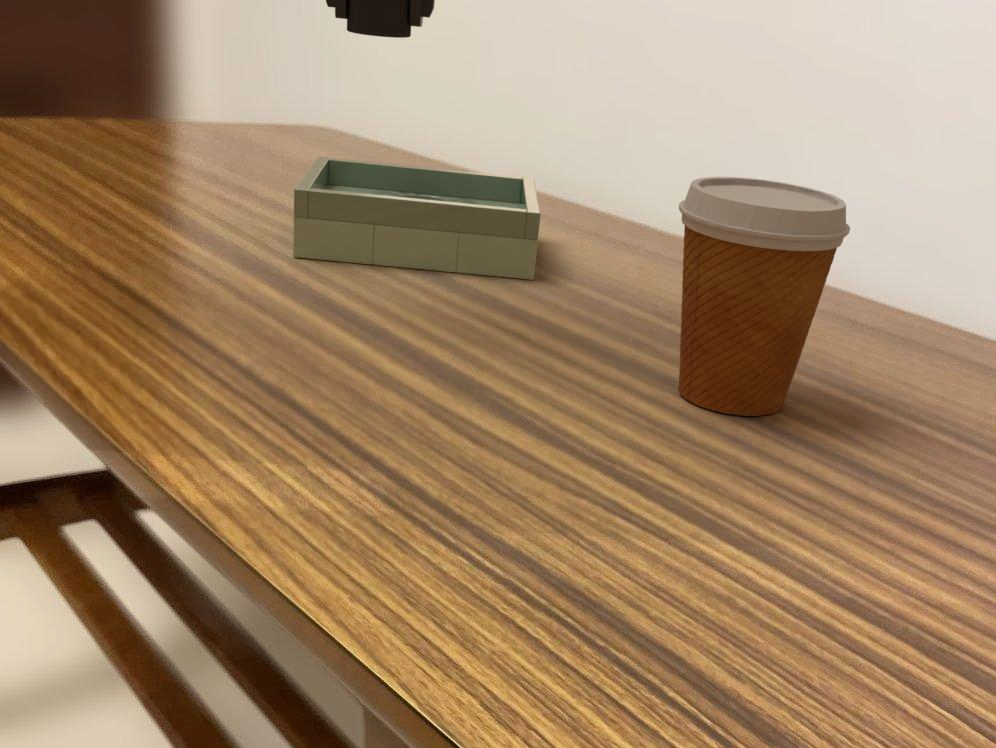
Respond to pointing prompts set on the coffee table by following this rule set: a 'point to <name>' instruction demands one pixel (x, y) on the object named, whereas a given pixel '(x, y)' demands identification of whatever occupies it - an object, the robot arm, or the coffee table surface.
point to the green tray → (415, 243)
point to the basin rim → (418, 211)
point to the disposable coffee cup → (751, 287)
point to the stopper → (379, 18)
